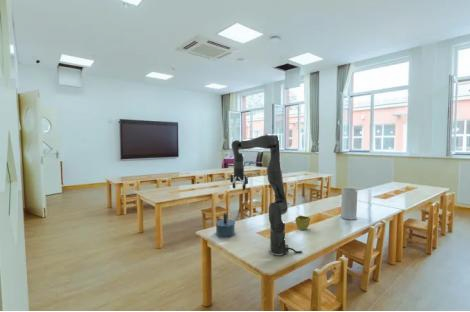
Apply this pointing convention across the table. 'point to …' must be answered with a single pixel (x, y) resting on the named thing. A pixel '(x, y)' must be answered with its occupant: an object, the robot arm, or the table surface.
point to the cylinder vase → (349, 203)
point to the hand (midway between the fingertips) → (239, 189)
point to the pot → (225, 231)
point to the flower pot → (302, 222)
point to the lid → (225, 222)
